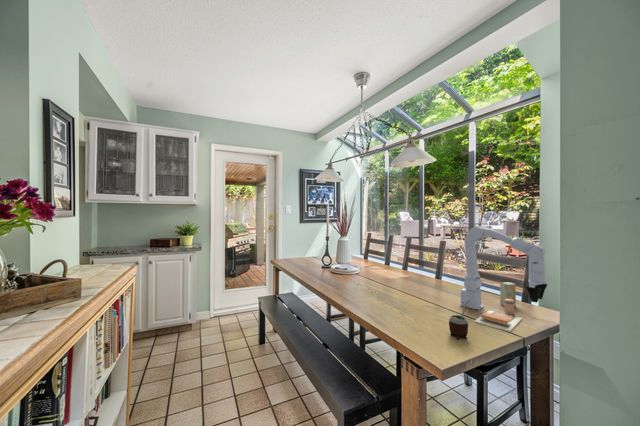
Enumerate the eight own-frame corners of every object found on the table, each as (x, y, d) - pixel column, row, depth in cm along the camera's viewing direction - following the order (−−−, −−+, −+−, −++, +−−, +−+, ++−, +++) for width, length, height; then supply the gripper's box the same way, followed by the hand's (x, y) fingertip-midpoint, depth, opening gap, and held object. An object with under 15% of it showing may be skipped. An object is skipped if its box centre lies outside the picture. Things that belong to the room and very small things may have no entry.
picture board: (474, 322, 124) (474, 320, 124) (488, 311, 137) (488, 310, 137) (510, 332, 114) (510, 330, 114) (522, 319, 127) (522, 317, 127)
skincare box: (507, 307, 143) (507, 284, 143) (499, 304, 147) (499, 282, 147) (516, 306, 145) (516, 283, 145) (508, 303, 149) (508, 281, 149)
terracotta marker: (503, 313, 134) (503, 299, 134) (505, 311, 137) (505, 298, 137) (513, 316, 131) (513, 301, 131) (515, 313, 134) (515, 300, 134)
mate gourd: (448, 337, 109) (447, 301, 109) (450, 330, 116) (450, 296, 116) (468, 342, 105) (468, 304, 105) (470, 334, 112) (469, 299, 112)
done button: (481, 317, 125) (481, 314, 125) (484, 315, 127) (484, 312, 127) (506, 324, 117) (506, 321, 117) (509, 321, 120) (509, 318, 120)
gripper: (542, 275, 117) (543, 305, 117) (551, 270, 125) (552, 299, 125) (523, 272, 122) (523, 301, 122) (533, 268, 131) (533, 295, 131)
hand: (536, 300), depth 124 cm, fingers open, 7 cm apart
